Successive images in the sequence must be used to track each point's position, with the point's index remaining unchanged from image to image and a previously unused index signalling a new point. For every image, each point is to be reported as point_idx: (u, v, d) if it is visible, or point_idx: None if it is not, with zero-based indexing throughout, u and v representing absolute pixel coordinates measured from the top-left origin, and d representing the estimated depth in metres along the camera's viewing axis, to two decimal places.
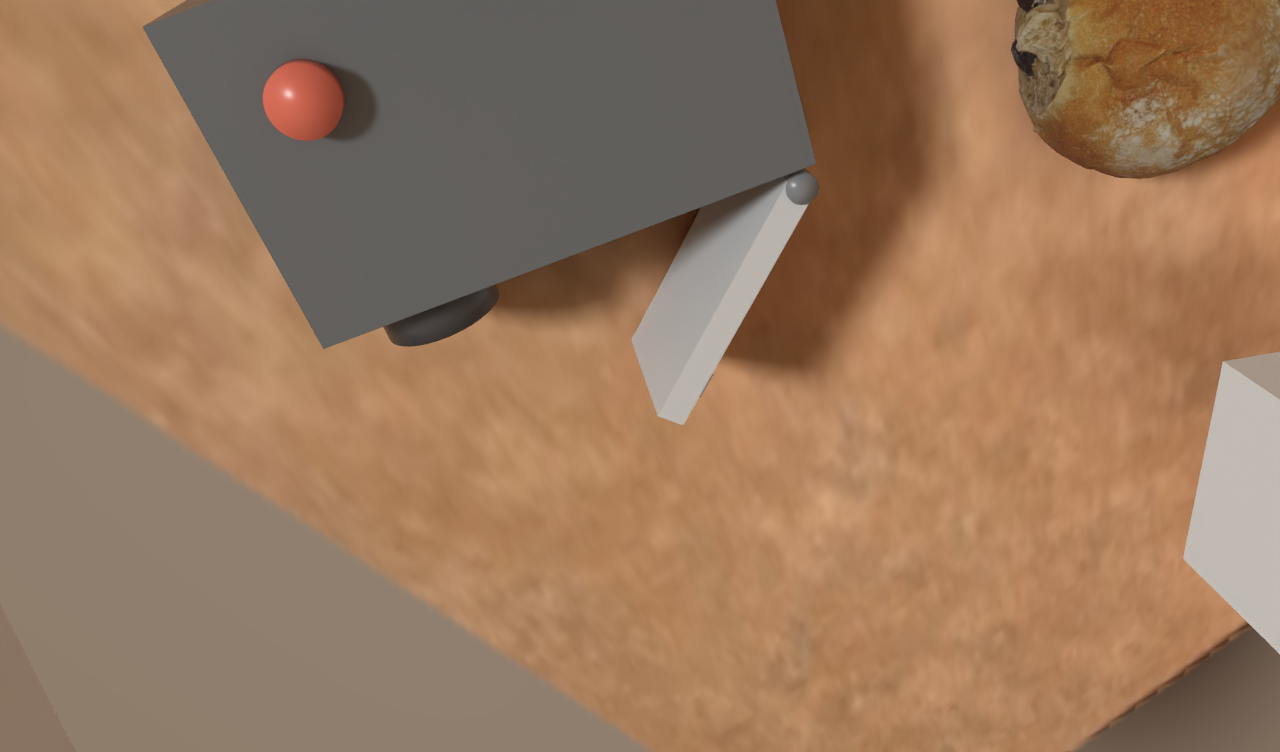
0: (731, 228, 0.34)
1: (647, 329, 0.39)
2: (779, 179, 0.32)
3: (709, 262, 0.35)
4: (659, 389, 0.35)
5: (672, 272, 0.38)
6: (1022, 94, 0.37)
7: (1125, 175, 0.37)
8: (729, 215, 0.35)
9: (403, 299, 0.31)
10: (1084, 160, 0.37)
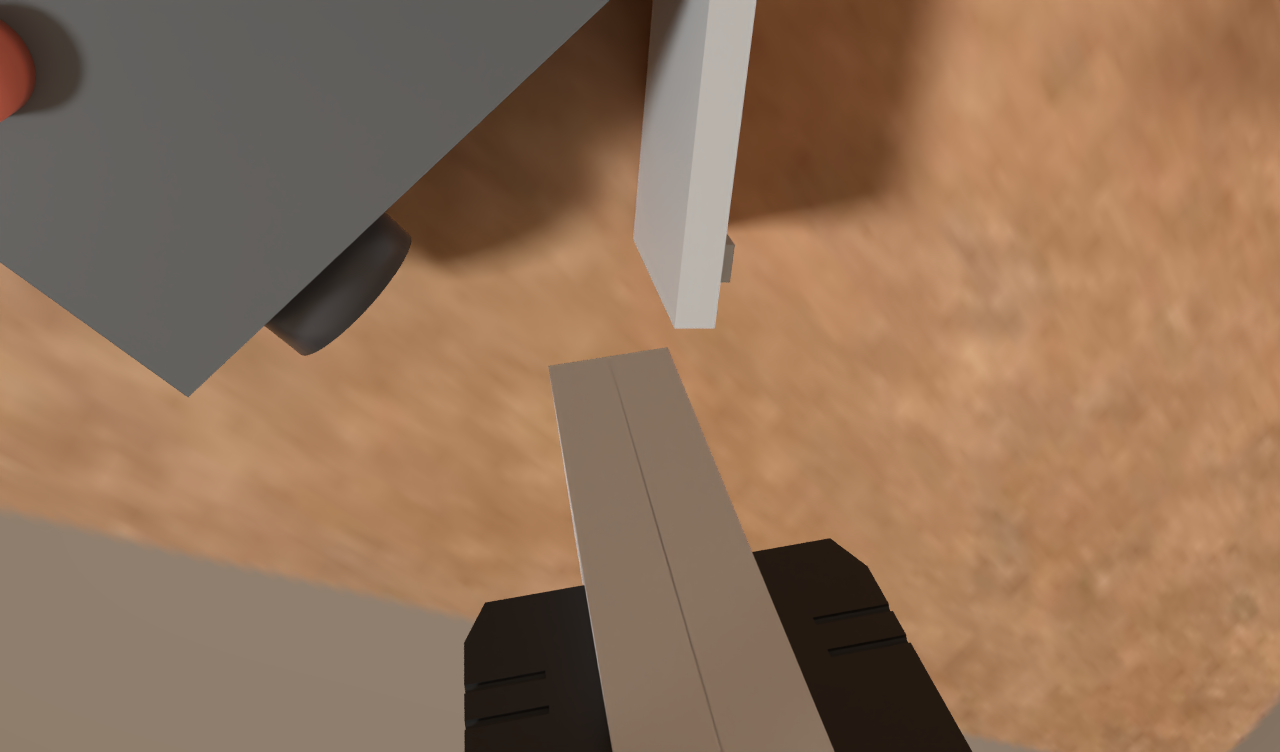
0: (681, 32, 0.23)
1: (642, 218, 0.28)
2: None
3: (673, 93, 0.24)
4: (668, 291, 0.25)
5: (646, 130, 0.28)
6: None
7: None
8: (675, 17, 0.24)
9: (254, 296, 0.22)
10: None
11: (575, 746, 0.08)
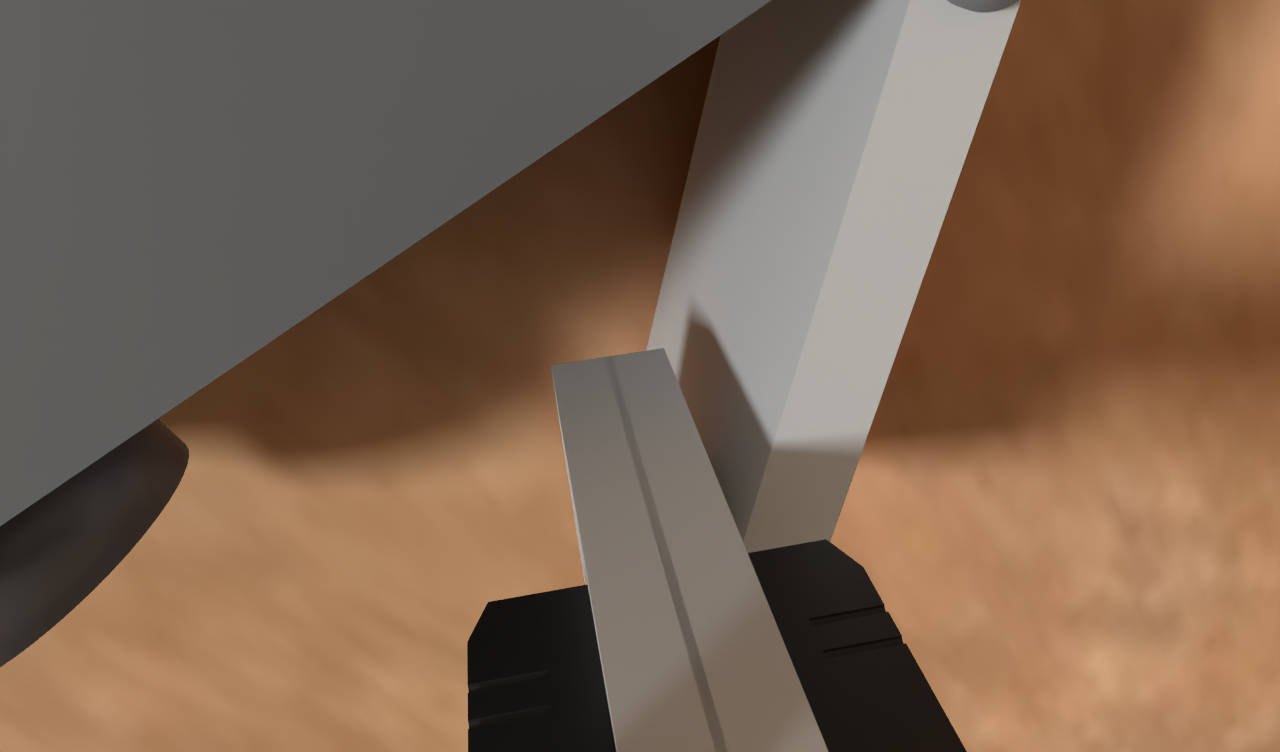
0: (775, 157, 0.12)
1: None
2: None
3: (739, 267, 0.12)
4: None
5: (667, 298, 0.16)
6: None
7: None
8: (763, 122, 0.12)
9: None
10: None
11: (580, 747, 0.08)
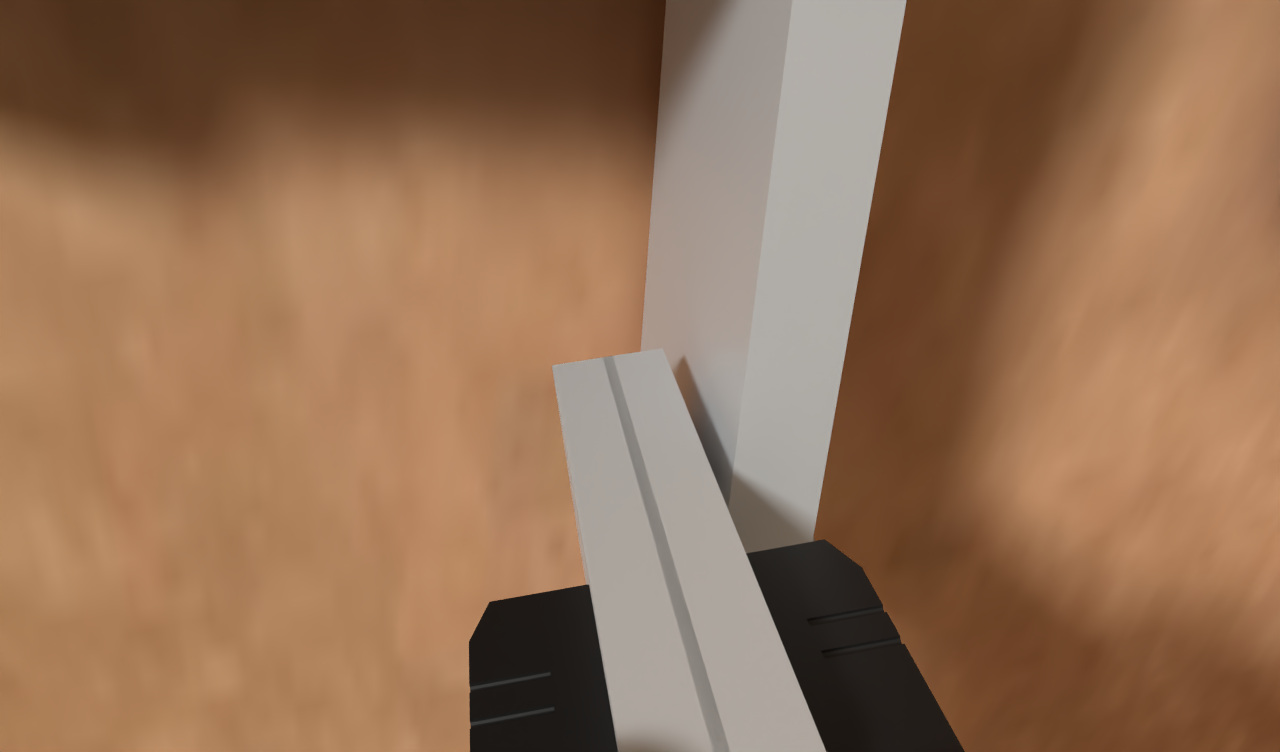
0: (714, 146, 0.11)
1: None
2: None
3: (698, 262, 0.12)
4: None
5: (651, 296, 0.15)
6: None
7: None
8: (702, 111, 0.12)
9: None
10: None
11: (581, 746, 0.08)
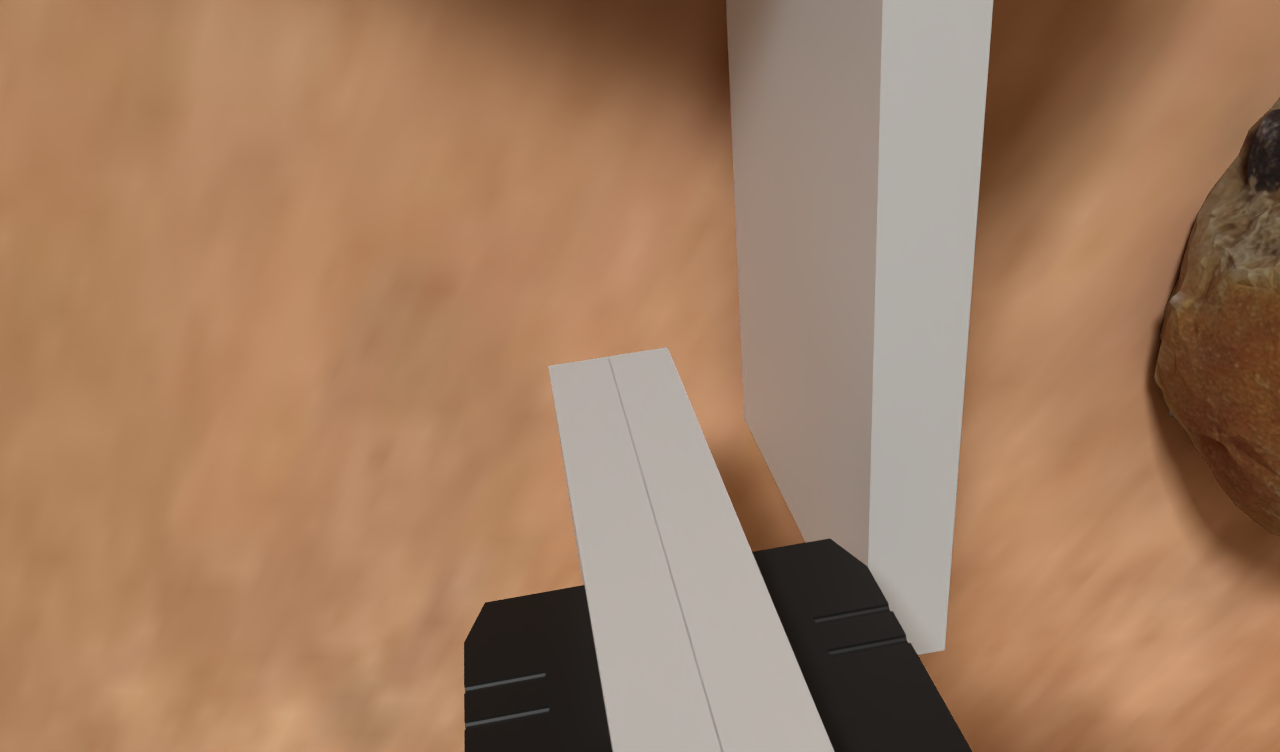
0: (803, 84, 0.11)
1: (757, 396, 0.16)
2: None
3: (799, 202, 0.12)
4: None
5: (745, 249, 0.15)
6: (1210, 218, 0.17)
7: None
8: (784, 50, 0.12)
9: None
10: (1244, 416, 0.16)
11: (576, 747, 0.08)
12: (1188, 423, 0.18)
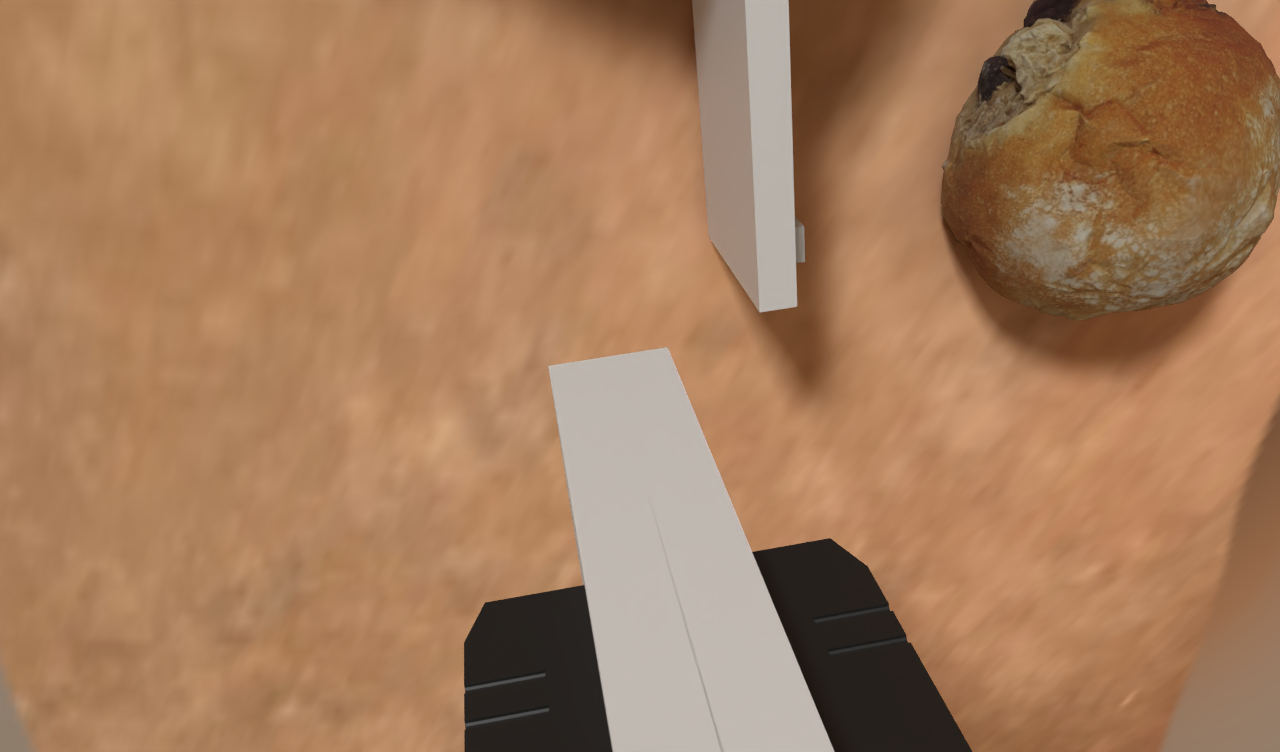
0: (723, 39, 0.25)
1: (713, 216, 0.30)
2: None
3: (725, 96, 0.26)
4: (748, 279, 0.27)
5: (705, 134, 0.29)
6: (960, 118, 0.31)
7: (1000, 267, 0.30)
8: (716, 25, 0.26)
9: None
10: (975, 222, 0.30)
11: (575, 747, 0.08)
12: (956, 235, 0.31)
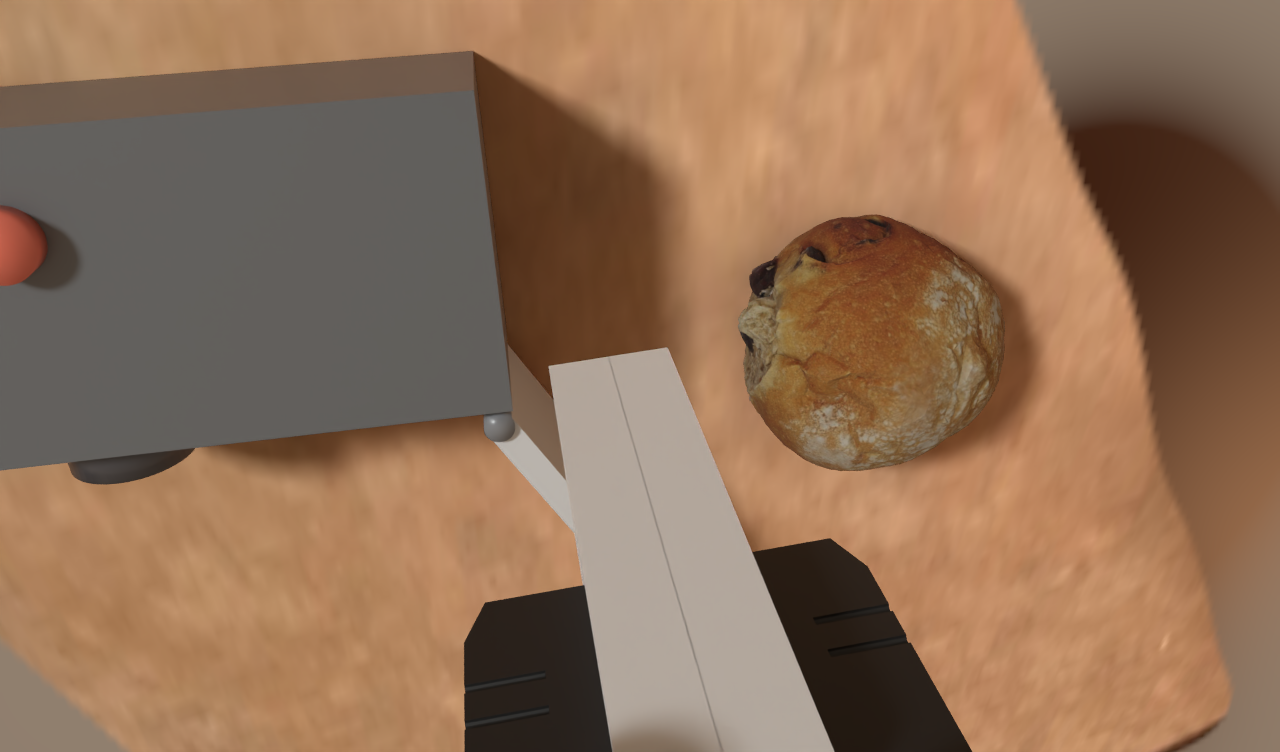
0: None
1: None
2: None
3: None
4: None
5: None
6: (744, 365, 0.40)
7: (814, 463, 0.39)
8: None
9: (73, 444, 0.30)
10: (782, 440, 0.39)
11: (575, 746, 0.08)
12: None
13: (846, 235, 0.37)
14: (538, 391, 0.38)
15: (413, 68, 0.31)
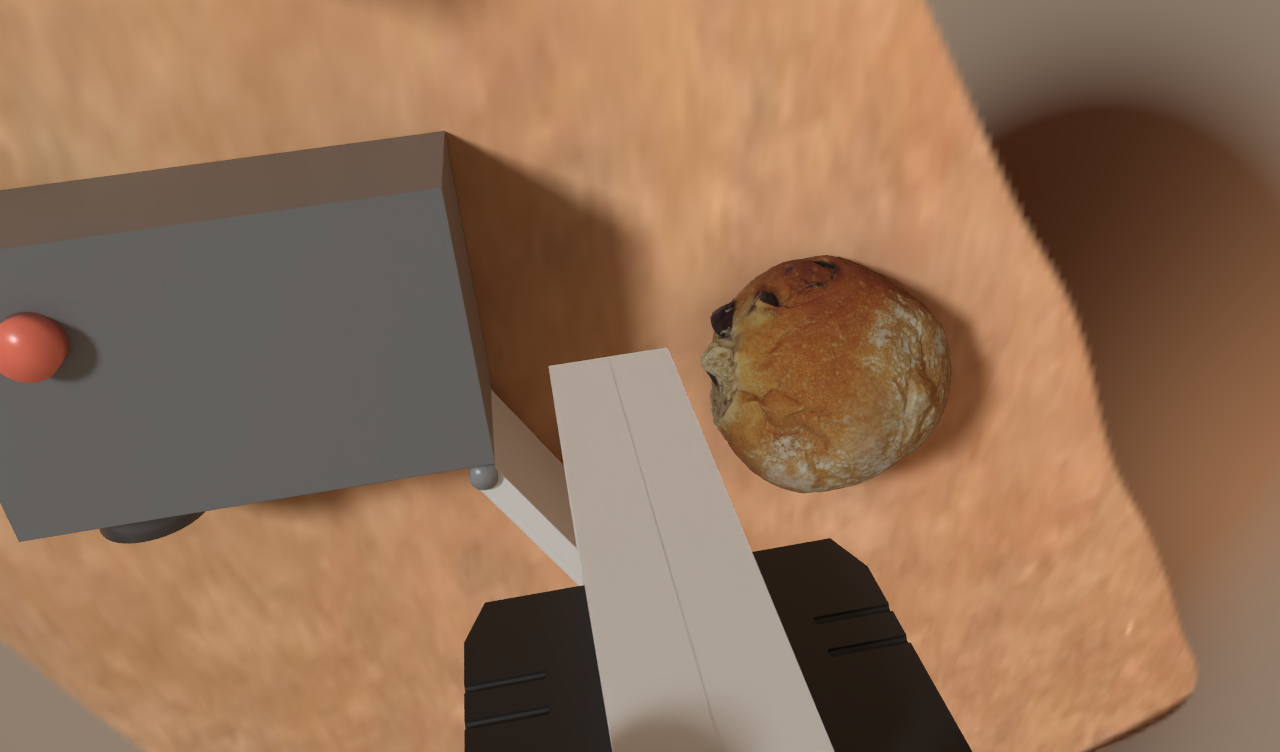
0: None
1: None
2: None
3: None
4: None
5: None
6: None
7: None
8: None
9: (101, 513, 0.34)
10: (748, 466, 0.42)
11: (575, 747, 0.08)
12: None
13: (796, 279, 0.39)
14: (522, 432, 0.42)
15: (389, 157, 0.34)
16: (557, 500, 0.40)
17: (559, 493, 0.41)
